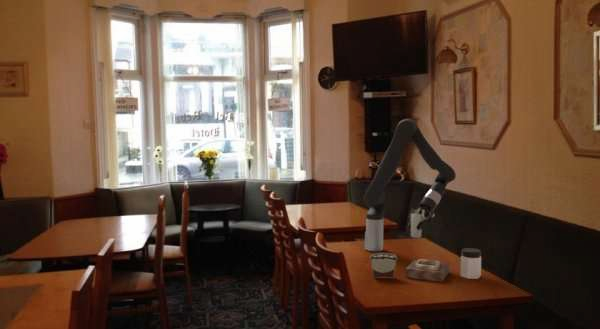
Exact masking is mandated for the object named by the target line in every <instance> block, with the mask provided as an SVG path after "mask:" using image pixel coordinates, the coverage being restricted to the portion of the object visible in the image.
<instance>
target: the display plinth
mask: <svg viewBox="0 0 600 329" xmlns="http://www.w3.org/2000/svg"><path fill="white" fill-rule="evenodd" d="M449 270H450V264H449V263H446V262H445V263H444V262H442V261H440V260H433V259H432V260H429V259H425V258H424V259H422V258H419V259H414V260H413V261H412V262H410V264H409V265H408V266H407V267H405V277H406V278H410V279H415V280H416V279H417V280H422V281H423V280H426V281H433V282H440V283H442V282H444V280H445V279H446V277H447V276H448V274H449V272H450V271H449Z"/></svg>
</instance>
